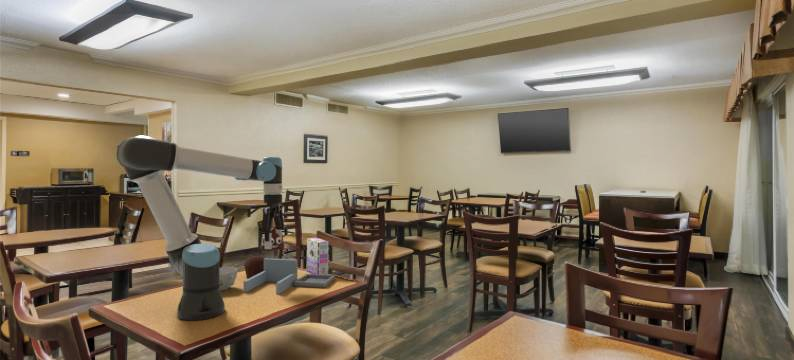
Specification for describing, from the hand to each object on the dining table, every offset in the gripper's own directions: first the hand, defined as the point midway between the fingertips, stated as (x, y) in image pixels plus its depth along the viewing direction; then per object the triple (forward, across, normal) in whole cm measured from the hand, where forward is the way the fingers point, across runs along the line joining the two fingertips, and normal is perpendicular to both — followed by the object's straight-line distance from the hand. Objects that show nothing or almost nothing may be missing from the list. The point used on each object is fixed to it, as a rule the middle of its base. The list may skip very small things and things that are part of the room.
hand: (273, 246), depth 179 cm
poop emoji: (+1, 0, 0) cm, 1 cm away
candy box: (+18, +28, -9) cm, 35 cm away
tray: (+18, +11, -14) cm, 25 cm away
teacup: (+18, -6, +20) cm, 27 cm away
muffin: (+18, +15, +16) cm, 28 cm away
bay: (+18, +2, +2) cm, 18 cm away
